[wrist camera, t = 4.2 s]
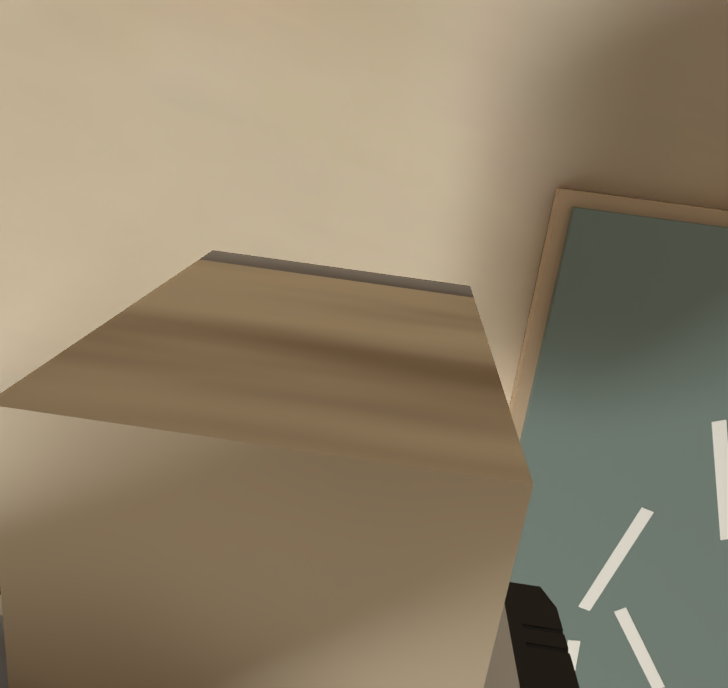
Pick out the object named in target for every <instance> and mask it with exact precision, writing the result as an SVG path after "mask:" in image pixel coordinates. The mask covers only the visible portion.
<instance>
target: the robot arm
mask: <svg viewBox="0 0 728 688" xmlns="http://www.w3.org/2000/svg"><path fill="white" fill-rule="evenodd" d="M0 688H9V687H8V675H7V663H6V651H5V639H4V627H3V615H2V603H1V591H0ZM484 688H580V687H579V684H578V680H577V677H576V673H575V670H574V666H573V663H572V659H571V656H570V653H568V645H567V642H566V638H565V635H564V634H563V628H562V624H561V621H560V617H559V614H558V610H557V607H556V606H555V605H554V604H553V602H552V601H551V600H550V598H549V597H548V596H547V595H546V593H545V592H544V591H543V589H542V588H541V587H540V586H533V585H527V584H520V583H513V582H509V586H508V590H507V594H506V598H505V603H504V607H503V611H502V615H501V619H500V623H499V627H498V631H497V635H496V639H495V643H494V647H493V651H492V655H491V659H490V663H489V668H488V672H487V676H486V680H485V684H484Z"/></svg>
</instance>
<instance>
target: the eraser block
mask: <svg viewBox="0 0 728 688" xmlns="http://www.w3.org/2000/svg"><path fill="white" fill-rule="evenodd" d="M532 489H533V482H532V479H531V476H530V472H529V469H528V466H527V463H526V460H525V457H524V454H523V450H522V447H521V444H520V441H519V438H518V435H517V432H516V429H515V425H514V422H513V419H512V416H511V413H510V410H509V407H508V403H507V400H506V397H505V394H504V391H503V388H502V385H501V382H500V378H499V375H498V372H497V369H496V366H495V363H494V360H493V356H492V353H491V350H490V347H489V344H488V341H487V338H486V335H485V331H484V328H483V325H482V322H481V319H480V316H479V313H478V310H477V306H476V303H475V300H474V297H473V294H472V291H471V288H470V286H465V285H458V284H451V283H444V282H437V281H429V280H422V279H415V278H408V277H401V276H393V275H386V274H379V273H372V272H365V271H357V270H350V269H343V268H336V267H329V266H322V265H314V264H307V263H300V262H293V261H286V260H278V259H271V258H264V257H257V256H250V255H242V254H235V253H228V252H221V251H214V250H213V251H211V252H210V253H208V254H207V255H205V256H204V257H202V258H201V259H199V260H198V261H196V262H195V263H193V264H192V265H190V266H189V267H187V268H186V269H185V270H183V271H182V272H180V273H179V274H177V275H176V276H174V277H173V278H171V279H170V280H168V281H167V282H165V283H164V284H162V285H161V286H159V287H158V288H156V289H155V290H153V291H152V292H150V293H149V294H147V295H146V296H144V297H143V298H142V299H140V300H139V301H137V302H136V303H134V304H133V305H131V306H130V307H128V308H127V309H125V310H124V311H122V312H121V313H119V314H118V315H116V316H115V317H113V318H112V319H110V320H109V321H107V322H106V323H104V324H103V325H101V326H100V327H99V328H97V329H96V330H94V331H93V332H91V333H90V334H88V335H87V336H85V337H84V338H82V339H81V340H79V341H78V342H76V343H75V344H73V345H72V346H70V347H69V348H67V349H66V350H64V351H63V352H61V353H60V354H58V355H57V356H56V357H54V358H53V359H51V360H50V361H48V362H47V363H45V364H44V365H42V366H41V367H39V368H38V369H36V370H35V371H33V372H32V373H30V374H29V375H27V376H26V377H24V378H23V379H21V380H20V381H18V382H17V383H15V384H14V385H13V386H11V387H10V388H8V389H7V390H5V391H4V392H2V393H1V394H0V591H1V603H2V615H3V627H4V639H5V651H6V663H7V675H8V687H9V688H484V684H485V680H486V676H487V672H488V668H489V663H490V659H491V655H492V651H493V647H494V643H495V639H496V635H497V631H498V627H499V623H500V619H501V615H502V611H503V607H504V603H505V598H506V594H507V590H508V586H509V582H510V578H511V574H512V570H513V566H514V562H515V558H516V554H517V550H518V546H519V542H520V538H521V533H522V529H523V525H524V521H525V517H526V513H527V509H528V505H529V501H530V497H531V493H532Z"/></svg>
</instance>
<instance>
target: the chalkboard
mask: <svg viewBox="0 0 728 688" xmlns="http://www.w3.org/2000/svg"><path fill="white" fill-rule="evenodd" d="M509 410H510V413H511V416H512V419H513V422H514V425H515V429H516V432H517V435H518V438H519V441H520V444H521V447H522V450H523V454H524V457H525V460H526V463H527V466H528V469H529V472H530V476H531V479H532V482H533V489H532V493H531V497H530V501H529V505H528V509H527V513H526V517H525V521H524V525H523V529H522V533H521V538H520V542H519V546H518V550H517V554H516V558H515V562H514V566H513V570H512V574H511V578H510V582H513V583H520V584H527V585H533V586H540V587H541V588H542V589H543V591H544V592H545V593H546V595H547V596H548V597H549V598H550V600H551V601H552V602H553V604H554V605H555V606H556V607H557V610H558V614H559V617H560V621H561V624H562V628H563V634H564V635H565V638H566V642H567V645H568V653H570V656H571V659H572V663H573V666H574V670H575V673H576V677H577V680H578V684H579V687H580V688H728V210H721V209H713V208H706V207H698V206H690V205H683V204H675V203H668V202H660V201H653V200H645V199H638V198H630V197H623V196H615V195H607V194H600V193H592V192H585V191H577V190H570V189H562V188H556V192H555V197H554V201H553V206H552V211H551V216H550V220H549V225H548V230H547V234H546V239H545V244H544V248H543V253H542V258H541V262H540V267H539V272H538V276H537V281H536V286H535V290H534V295H533V300H532V304H531V309H530V314H529V318H528V323H527V328H526V333H525V337H524V342H523V347H522V351H521V356H520V361H519V365H518V370H517V375H516V379H515V384H514V389H513V393H512V398H511V403H510V407H509Z"/></svg>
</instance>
